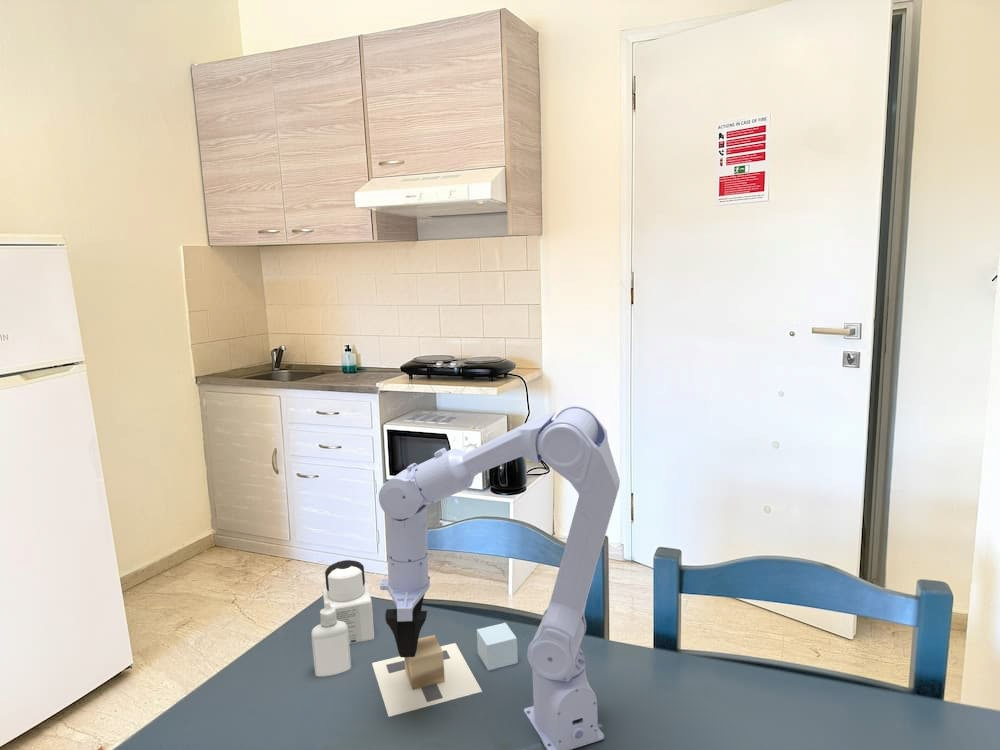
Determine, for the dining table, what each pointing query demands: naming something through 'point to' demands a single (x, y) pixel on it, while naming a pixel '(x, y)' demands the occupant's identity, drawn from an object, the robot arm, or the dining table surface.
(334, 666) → the eye dropper bottle
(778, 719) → the dining table surface
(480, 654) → the pale blue cube
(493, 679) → the dining table surface
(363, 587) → the container
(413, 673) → the oak block
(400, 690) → the letter card
